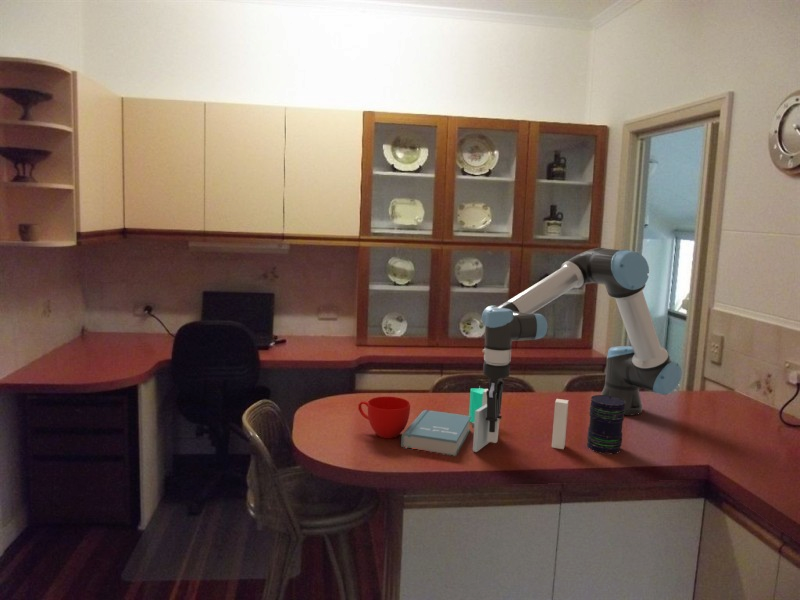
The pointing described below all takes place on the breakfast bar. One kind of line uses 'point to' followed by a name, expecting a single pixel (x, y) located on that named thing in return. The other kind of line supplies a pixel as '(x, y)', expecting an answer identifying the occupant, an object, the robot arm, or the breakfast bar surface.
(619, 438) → the storage jar
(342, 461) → the breakfast bar surface
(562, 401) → the door frame
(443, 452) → the book
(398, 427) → the ceramic cup
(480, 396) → the candle
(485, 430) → the door
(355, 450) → the breakfast bar surface
